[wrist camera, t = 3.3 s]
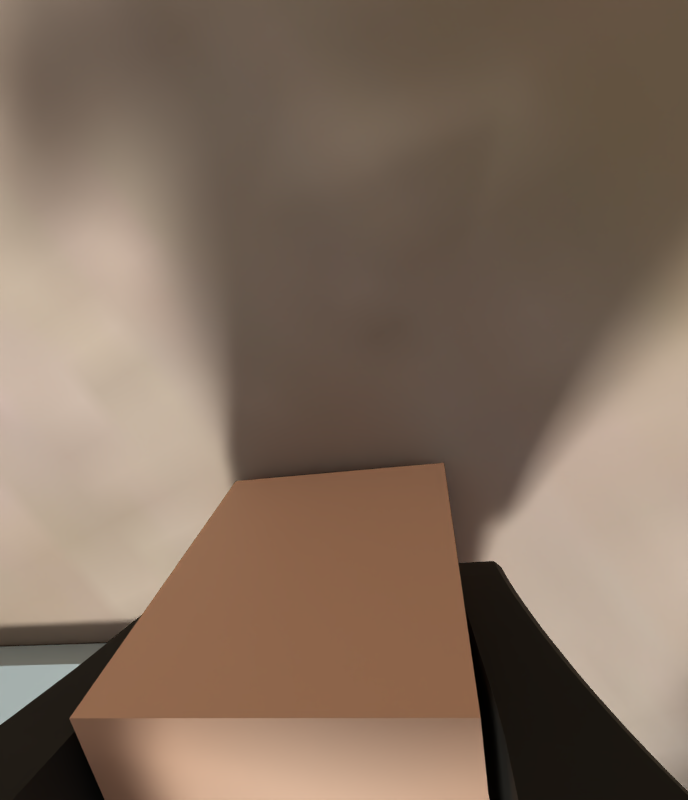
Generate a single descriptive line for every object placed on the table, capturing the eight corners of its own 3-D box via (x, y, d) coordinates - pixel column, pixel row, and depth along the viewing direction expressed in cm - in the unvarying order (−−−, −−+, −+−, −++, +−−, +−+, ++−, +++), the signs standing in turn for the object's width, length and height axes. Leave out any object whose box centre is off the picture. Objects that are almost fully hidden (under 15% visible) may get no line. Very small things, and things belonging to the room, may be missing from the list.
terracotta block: (443, 462, 9) (480, 718, 4) (462, 638, 10) (508, 989, 5) (236, 481, 10) (69, 718, 5) (276, 643, 11) (173, 959, 6)
